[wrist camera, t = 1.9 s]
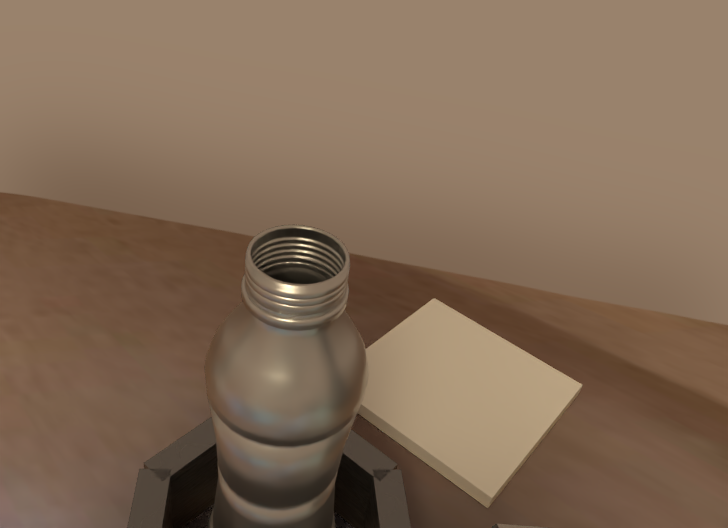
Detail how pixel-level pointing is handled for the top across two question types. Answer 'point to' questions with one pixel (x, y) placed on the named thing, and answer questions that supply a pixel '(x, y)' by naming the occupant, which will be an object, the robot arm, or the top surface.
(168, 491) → the metal ring
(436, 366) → the ceramic tile
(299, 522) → the plastic bottle
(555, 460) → the top surface
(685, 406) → the top surface
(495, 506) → the top surface
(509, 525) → the robot arm
